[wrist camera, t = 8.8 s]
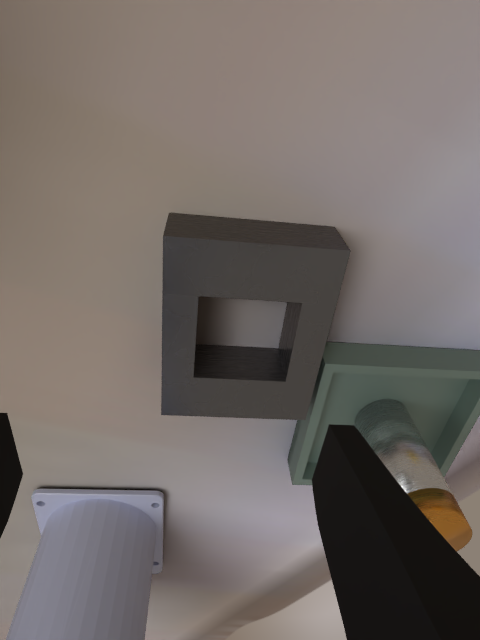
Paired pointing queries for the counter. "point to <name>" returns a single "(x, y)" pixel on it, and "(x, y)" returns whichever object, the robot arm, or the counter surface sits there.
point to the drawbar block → (255, 284)
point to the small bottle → (413, 466)
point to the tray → (391, 397)
